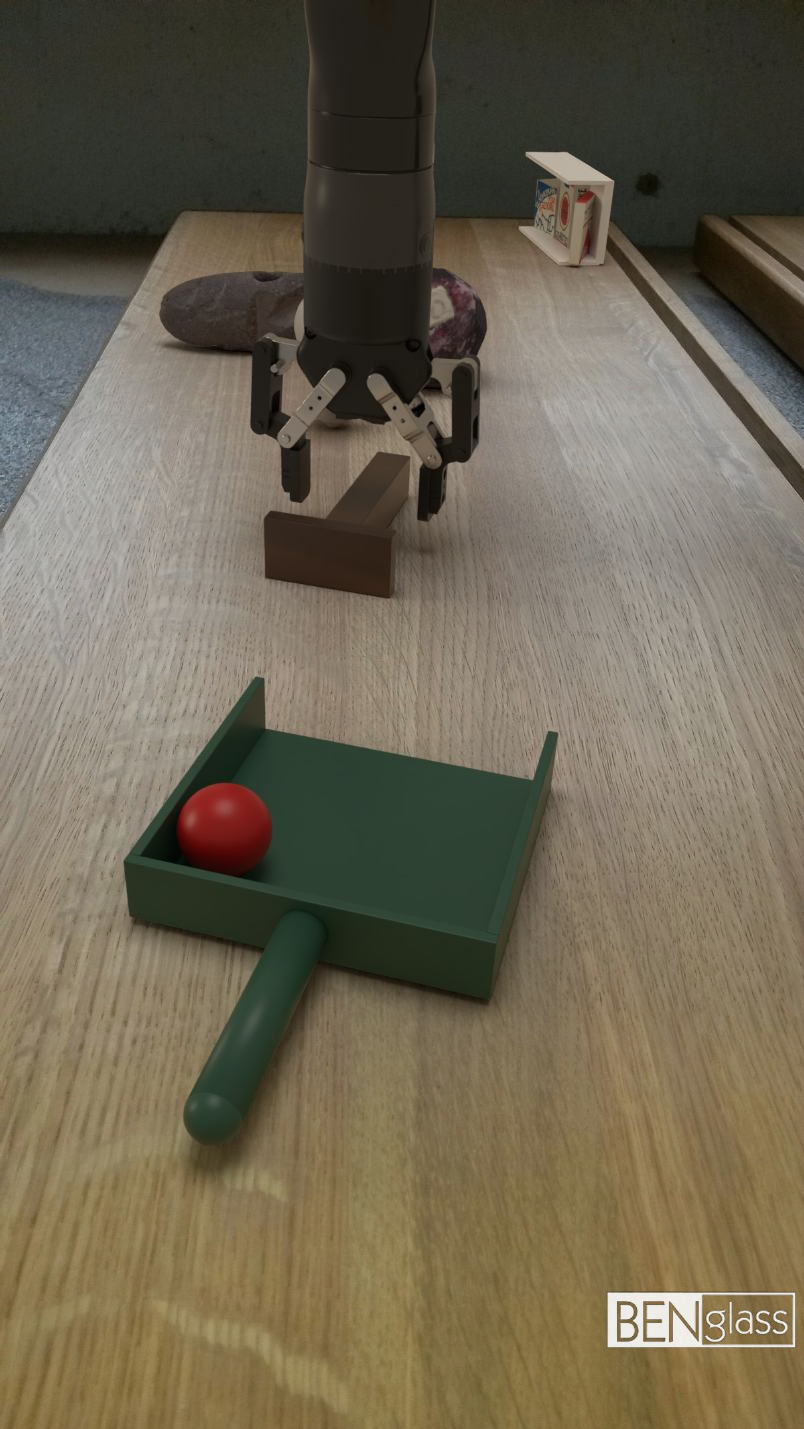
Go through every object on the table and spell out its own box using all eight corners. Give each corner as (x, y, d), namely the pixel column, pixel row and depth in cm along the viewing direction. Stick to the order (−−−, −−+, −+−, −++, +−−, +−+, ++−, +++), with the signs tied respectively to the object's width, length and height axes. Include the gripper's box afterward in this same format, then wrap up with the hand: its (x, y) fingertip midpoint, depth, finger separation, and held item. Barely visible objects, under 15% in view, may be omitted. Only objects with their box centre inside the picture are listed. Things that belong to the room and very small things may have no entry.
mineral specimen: (337, 365, 104) (363, 245, 102) (397, 385, 113) (423, 274, 111) (434, 387, 100) (464, 261, 97) (489, 405, 109) (517, 290, 107)
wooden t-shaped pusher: (339, 485, 87) (339, 431, 85) (447, 501, 86) (450, 447, 84) (264, 577, 75) (263, 517, 73) (389, 598, 74) (391, 538, 71)
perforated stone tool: (156, 352, 111) (150, 274, 107) (166, 335, 115) (162, 259, 111) (320, 361, 111) (321, 282, 107) (325, 344, 115) (326, 267, 111)
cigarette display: (518, 229, 160) (525, 151, 154) (559, 229, 161) (567, 152, 155) (562, 268, 143) (571, 182, 138) (607, 268, 144) (618, 183, 139)
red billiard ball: (265, 758, 52) (207, 791, 54) (201, 783, 48) (142, 816, 51) (306, 844, 51) (245, 873, 54) (244, 874, 48) (183, 903, 51)
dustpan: (256, 731, 61) (255, 675, 59) (550, 788, 58) (558, 731, 57) (-1, 1117, 42) (-15, 1051, 40) (425, 1233, 39) (431, 1168, 37)
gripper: (502, 245, 72) (481, 501, 81) (274, 221, 74) (278, 471, 83) (475, 275, 66) (455, 548, 75) (228, 248, 68) (237, 514, 77)
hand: (362, 507), depth 79 cm, fingers open, 8 cm apart
